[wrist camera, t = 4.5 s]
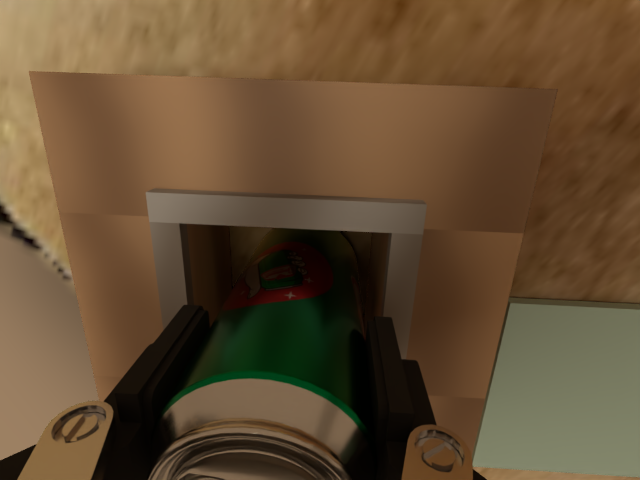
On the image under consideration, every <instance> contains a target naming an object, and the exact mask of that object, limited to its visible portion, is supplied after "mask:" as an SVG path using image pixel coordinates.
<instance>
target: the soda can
mask: <svg viewBox="0 0 640 480" xmlns="http://www.w3.org/2000/svg"><path fill="white" fill-rule="evenodd" d="M151 456H152V463H153V464H152V466H151V467H150V469H149V471H148V475H147V478H146V480H376V477H377V469H378V462H377V450H376V441H375V431H374V421H373V411H372V402H371V392H370V382H369V372H368V362H367V353H366V343H365V333H364V323H363V314H362V304H361V294H360V284H359V275H358V265H357V259H356V255H355V253H354V251H353V248H352V247H351V245H350V244H349V242H348V241H347V239H346V238H345V237H344V236H343V235H342V234H341V233H339V232H338V231H336V230H314V229H293V228H274V229H273V230H271V231H270V232H269V233H268V234H267V235H266V236H265V237H264V238H263V239H262V241H261V242H260V244H259V245H258V247H257V249H256V250H255V252H254V254H253V255H252V257H251V259H250V261H249V262H248V264H247V266H246V267H245V269H244V271H243V272H242V274H241V276H240V278H239V279H238V281H237V283H236V284H235V286H234V288H233V289H232V291H231V293H230V295H229V296H228V298H227V300H226V301H225V303H224V305H223V306H222V308H221V310H220V312H219V313H218V315H217V317H216V318H215V320H214V322H213V323H212V325H211V327H210V329H209V330H208V332H207V334H206V335H205V337H204V339H203V340H202V342H201V344H200V346H199V347H198V349H197V351H196V352H195V354H194V356H193V357H192V359H191V361H190V363H189V364H188V366H187V368H186V369H185V371H184V373H183V374H182V376H181V378H180V380H179V381H178V383H177V385H176V386H175V388H174V390H173V391H172V393H171V395H170V397H169V398H168V400H167V402H166V403H165V405H164V407H163V408H162V410H161V412H160V414H159V416H158V418H157V419H156V421H155V424H154V428H153V431H152V435H151Z"/></svg>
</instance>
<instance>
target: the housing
mask: <svg viewBox="0 0 640 480" xmlns="http://www.w3.org/2000/svg"><path fill="white" fill-rule="evenodd" d="M29 75H30V80H31V84H32V89H33V94H34V98H35V103H36V108H37V112H38V117H39V122H40V126H41V131H42V136H43V140H44V145H45V150H46V154H47V159H48V164H49V168H50V173H51V178H52V182H53V187H54V192H55V196H56V201H57V206H58V210H59V215H60V220H61V224H62V229H63V234H64V238H65V243H66V248H67V252H68V257H69V262H70V266H71V271H72V276H73V280H74V285H75V290H76V294H77V299H78V304H79V308H80V313H81V318H82V322H83V327H84V332H85V336H86V341H87V346H88V350H89V355H90V359H91V364H92V369H93V374H94V378H95V383H96V388H97V392H98V397H99V401H102V402H103V401H104V400H105V399H106V398H107V396H108V395H109V394H110V393H111V391H112V390H113V389H114V388H115V386H116V385H117V384H118V383H119V381H120V380H121V379H122V378H123V376H124V375H125V374H126V373H127V371H128V370H129V369H130V368H131V366H132V365H133V364H134V363H135V361H136V360H137V359H138V358H139V356H140V355H141V354H142V353H143V351H144V350H145V349H146V348H147V347H148V346H149V345H150V344H152V343H154V342H155V340H156V339H157V338H158V337H159V335H160V334H161V333H162V332H163V330H164V329H165V328H166V327H167V325H168V324H169V323H170V321H171V320H172V319H173V318H174V316H175V315H176V314H177V313H178V311H179V310H180V309H181V307H182V306H183V305H199V306H202V307H203V309H204V310H207V311H208V313H209V322H210V327H211V325H212V323H213V322H214V320H215V318H216V317H217V315H218V313H219V312H220V310H221V308H222V306H223V305H224V303H225V301H226V300H227V298H228V296H229V295H230V293H231V291H232V276H231V257H230V238H229V226H249V227H271V228H293V229H314V230H336V231H358V232H372V239H371V251H370V262H369V274H368V285H367V297H366V309H365V320H364V333H365V340H366V329H367V321H368V320H372V321H373V319H374V316H380V317H392V321H393V325H394V329H395V333H396V338H397V342H398V346H399V350H400V354H401V359H407V360H417V361H418V364H419V367H420V370H421V373H422V377H423V380H424V384H425V387H426V390H427V394H428V397H429V400H430V404H431V407H432V410H433V414H434V417H435V420H436V424H437V425H438V426H442V427H444V428H447V429H449V430H451V431H452V432H454V433H455V434H457V435H458V436H459V437H460V438H461V439H462V440H463V441H464V442H465V443H466V444H467V446H468V448H469V450H470V452H471V456H472V453H473V449H474V444H475V440H476V436H477V432H478V427H479V423H480V419H481V415H482V410H483V406H484V402H485V397H486V393H487V389H488V385H489V380H490V376H491V372H492V368H493V363H494V359H495V355H496V351H497V346H498V342H499V338H500V333H501V329H502V325H503V321H504V316H505V312H506V308H507V304H508V299H509V295H510V291H511V286H512V282H513V278H514V274H515V269H516V265H517V261H518V257H519V252H520V248H521V244H522V240H523V235H524V231H525V227H526V222H527V218H528V214H529V210H530V205H531V201H532V197H533V193H534V188H535V184H536V180H537V176H538V171H539V167H540V163H541V158H542V154H543V150H544V146H545V141H546V137H547V133H548V129H549V124H550V120H551V116H552V111H553V107H554V103H555V99H556V94H557V90H558V89H539V88H509V87H480V86H450V85H420V84H391V83H361V82H332V81H302V80H272V79H243V78H213V77H183V76H154V75H124V74H95V73H65V72H35V71H29Z"/></svg>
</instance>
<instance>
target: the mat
mask: <svg viewBox="0 0 640 480" xmlns="http://www.w3.org/2000/svg"><path fill="white" fill-rule="evenodd" d="M472 466H473V467H487V468H503V469H518V470H534V471H549V472H565V473H580V474H596V475H611V476H626V477H640V304H629V303H609V302H589V301H570V300H550V299H530V298H511V297H509V299H508V304H507V308H506V312H505V316H504V321H503V325H502V329H501V333H500V338H499V342H498V346H497V351H496V355H495V359H494V363H493V368H492V372H491V376H490V380H489V385H488V389H487V393H486V397H485V402H484V406H483V410H482V415H481V419H480V423H479V427H478V432H477V436H476V440H475V444H474V449H473V453H472Z"/></svg>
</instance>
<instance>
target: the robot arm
mask: <svg viewBox="0 0 640 480" xmlns="http://www.w3.org/2000/svg"><path fill="white" fill-rule="evenodd" d="M209 329H210V322H209V313H208V311H207V310H204V309H203V307H202V306H199V305H183V306H182V307H181V309H180V310H179V311H178V313H177V314H176V315H175V316H174V318H173V319H172V320H171V321H170V323H169V324H168V325H167V327H166V328H165V329H164V330H163V332H162V333H161V334H160V335H159V337H158V338H157V339H156V340H155V342H154V343H152V344H150V345H149V346H148V347H147V348H146V349H145V350H144V351H143V353H142V354H141V355H140V356H139V358H138V359H137V360H136V361H135V363H134V364H133V365H132V366H131V368H130V369H129V370H128V371H127V373H126V374H125V375H124V376H123V378H122V379H121V380H120V381H119V383H118V384H117V385H116V386H115V388H114V389H113V390H112V391H111V393H110V394H109V395H108V396H107V398H106V399H105V400H104V401H103V402H102V401H87V402H83V403H79V404H76V405H74V406H71V407H69V408H67V409H66V410H64V411H62V412H61V413H59V414H58V415H57V416H56V417H55V418H53V419H52V420H51V422H50V423H49V424H48V426H47V427H46V428H45V430H44V432H43V434H42V435H41V437H40V439H39V441H38V443H37V444H36V445H34V446H31V447H29V448H27V449H25V450H23V451H21V452H18V453H16V454H14V455H12V456H9V457H7V458H5V459H3V460H0V480H146V478H147V475H148V471H149V469H150V467H151V466H152V464H153V463H152V456H151V435H152V431H153V428H154V424H155V421H156V419H157V418H158V416H159V414H160V412H161V410H162V408H163V407H164V405H165V403H166V402H167V400H168V398H169V397H170V395H171V393H172V391H173V390H174V388H175V386H176V385H177V383H178V381H179V380H180V378H181V376H182V374H183V373H184V371H185V369H186V368H187V366H188V364H189V363H190V361H191V359H192V357H193V356H194V354H195V352H196V351H197V349H198V347H199V346H200V344H201V342H202V340H203V339H204V337H205V335H206V334H207V332H208V330H209ZM365 343H366V353H367V362H368V372H369V382H370V392H371V402H372V411H373V421H374V431H375V441H376V450H377V462H378V469H377V477H376V480H487V479H485V478H484V477H483V476H481V475H480V474H479V473H477V472H476V471H475V470H473V466H472V456H471V452H470V450H469V448H468V446H467V444H466V443H465V442H464V441H463V440H462V439H461V438H460V437H459V436H458V435H457V434H455V433H454V432H452V431H451V430H449V429H447V428H444V427H442V426H438V425H437V424H436V420H435V417H434V414H433V410H432V407H431V404H430V400H429V397H428V394H427V390H426V387H425V384H424V380H423V377H422V373H421V370H420V367H419V364H418V361H417V360H407V359H401V354H400V350H399V346H398V342H397V338H396V333H395V329H394V325H393V321H392V317H380V316H374V319H373V321H372V320H368V321H367V329H366V340H365Z"/></svg>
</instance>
